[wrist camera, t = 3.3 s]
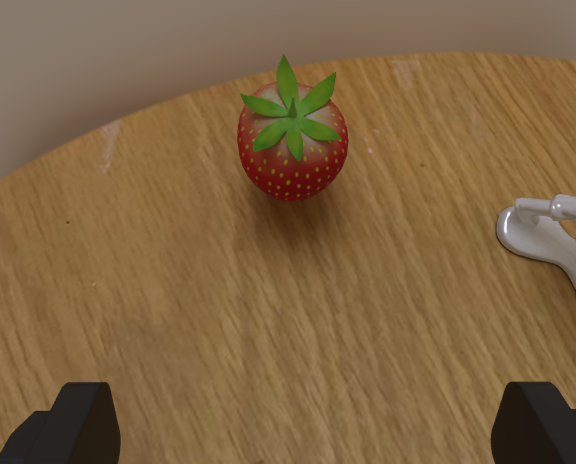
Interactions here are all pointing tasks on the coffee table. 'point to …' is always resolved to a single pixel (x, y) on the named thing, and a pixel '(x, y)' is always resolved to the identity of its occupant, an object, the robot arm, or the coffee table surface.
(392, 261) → the coffee table surface
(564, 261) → the figurine
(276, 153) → the fruit
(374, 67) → the coffee table surface
